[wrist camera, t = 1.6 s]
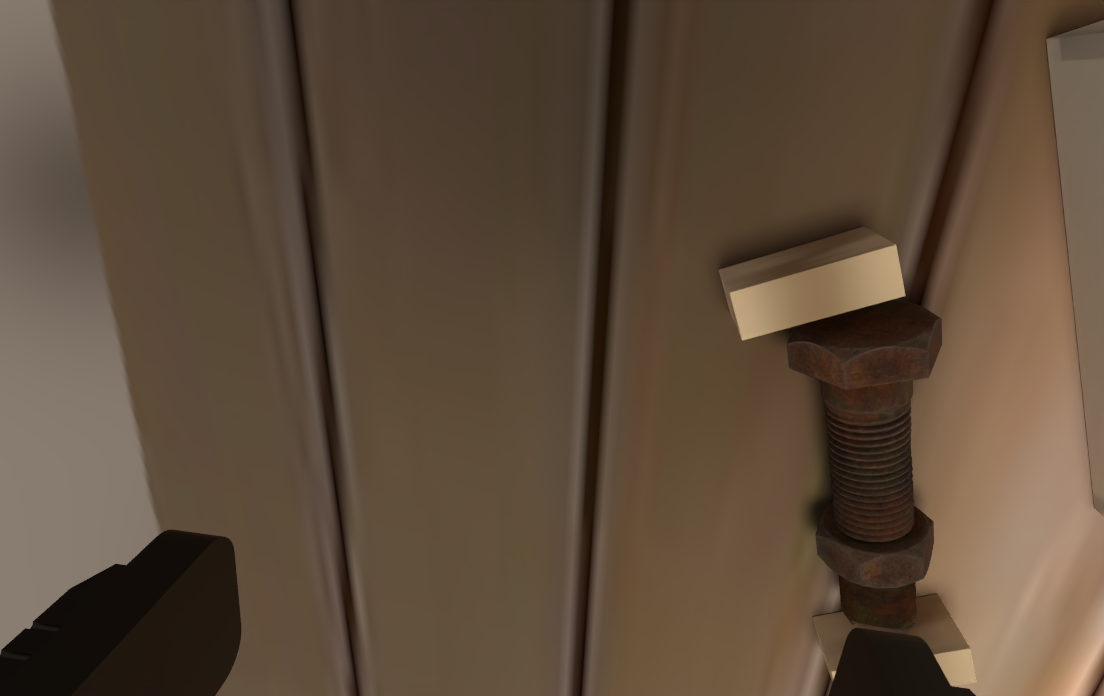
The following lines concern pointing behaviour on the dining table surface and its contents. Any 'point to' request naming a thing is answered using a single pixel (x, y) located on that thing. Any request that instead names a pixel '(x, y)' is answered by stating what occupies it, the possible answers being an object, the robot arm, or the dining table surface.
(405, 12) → the dining table surface
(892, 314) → the bolt
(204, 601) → the robot arm
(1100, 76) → the tray
